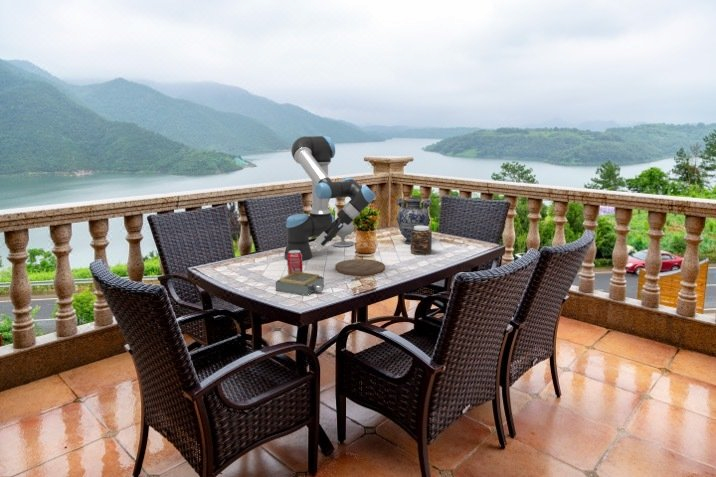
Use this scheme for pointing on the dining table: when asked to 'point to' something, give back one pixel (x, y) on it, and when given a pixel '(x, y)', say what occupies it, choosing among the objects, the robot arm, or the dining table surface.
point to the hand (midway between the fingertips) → (316, 246)
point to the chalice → (344, 235)
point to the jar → (421, 240)
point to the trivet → (360, 267)
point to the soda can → (294, 261)
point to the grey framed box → (300, 283)
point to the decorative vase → (412, 215)
